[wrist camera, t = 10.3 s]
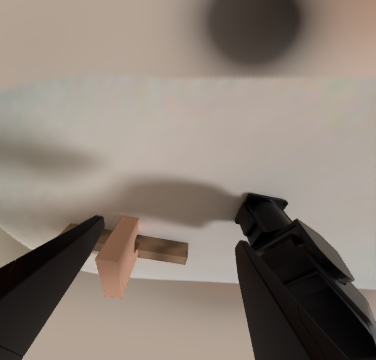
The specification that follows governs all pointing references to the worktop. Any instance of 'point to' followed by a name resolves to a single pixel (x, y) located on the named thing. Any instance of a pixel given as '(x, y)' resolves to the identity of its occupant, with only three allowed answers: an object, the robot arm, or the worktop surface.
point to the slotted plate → (118, 257)
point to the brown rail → (150, 247)
